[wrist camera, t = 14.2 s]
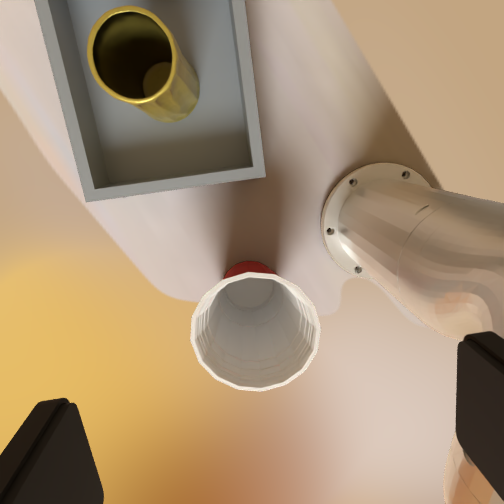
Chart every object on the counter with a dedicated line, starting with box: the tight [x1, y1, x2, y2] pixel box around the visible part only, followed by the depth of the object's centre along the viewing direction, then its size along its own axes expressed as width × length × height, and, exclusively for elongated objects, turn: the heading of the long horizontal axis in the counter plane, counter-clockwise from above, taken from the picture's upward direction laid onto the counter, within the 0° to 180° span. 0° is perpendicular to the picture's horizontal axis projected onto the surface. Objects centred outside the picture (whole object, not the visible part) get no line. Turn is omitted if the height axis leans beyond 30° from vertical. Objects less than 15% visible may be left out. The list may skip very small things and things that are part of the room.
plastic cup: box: [190, 261, 321, 391], centre depth 37 cm, size 11×11×12 cm
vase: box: [87, 5, 200, 123], centre depth 29 cm, size 6×6×14 cm
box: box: [34, 0, 266, 202], centre depth 34 cm, size 16×18×6 cm
